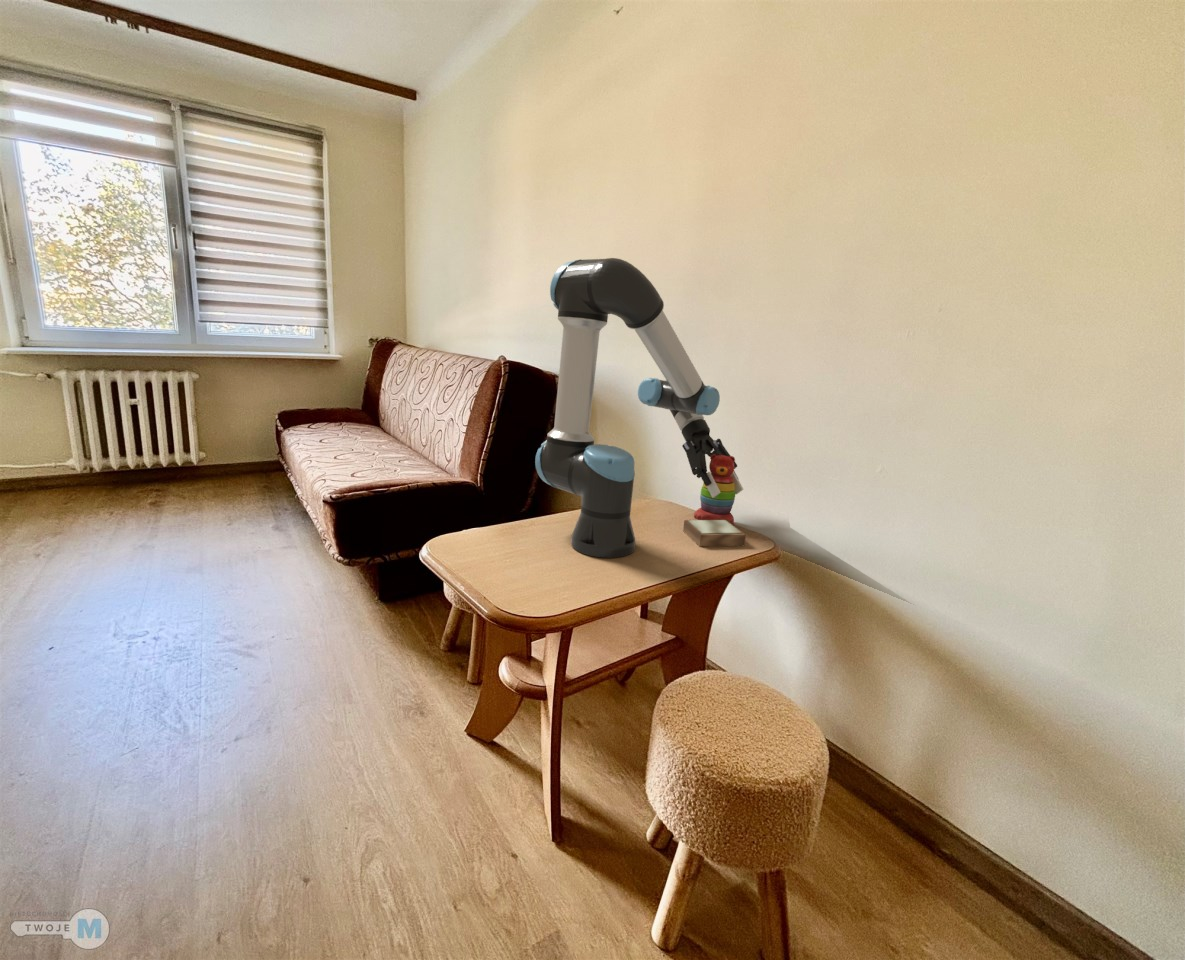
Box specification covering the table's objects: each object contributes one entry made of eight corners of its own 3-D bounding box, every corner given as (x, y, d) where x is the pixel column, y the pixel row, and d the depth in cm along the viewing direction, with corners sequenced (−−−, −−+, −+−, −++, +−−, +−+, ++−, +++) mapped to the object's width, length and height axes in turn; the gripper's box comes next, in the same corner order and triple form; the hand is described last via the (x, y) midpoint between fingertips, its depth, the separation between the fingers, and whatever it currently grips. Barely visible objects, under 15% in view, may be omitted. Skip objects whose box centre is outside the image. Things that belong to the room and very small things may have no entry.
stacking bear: (692, 519, 149) (701, 455, 145) (696, 509, 159) (705, 449, 154) (733, 526, 146) (743, 461, 142) (734, 516, 156) (744, 455, 152)
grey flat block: (699, 546, 134) (701, 534, 133) (683, 530, 144) (684, 519, 144) (744, 545, 137) (746, 533, 136) (725, 530, 147) (726, 519, 146)
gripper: (709, 431, 166) (744, 496, 157) (657, 434, 153) (692, 504, 145) (725, 417, 160) (762, 483, 152) (673, 418, 148) (710, 490, 139)
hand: (728, 493), depth 148 cm, fingers closed on stacking bear, 9 cm apart
